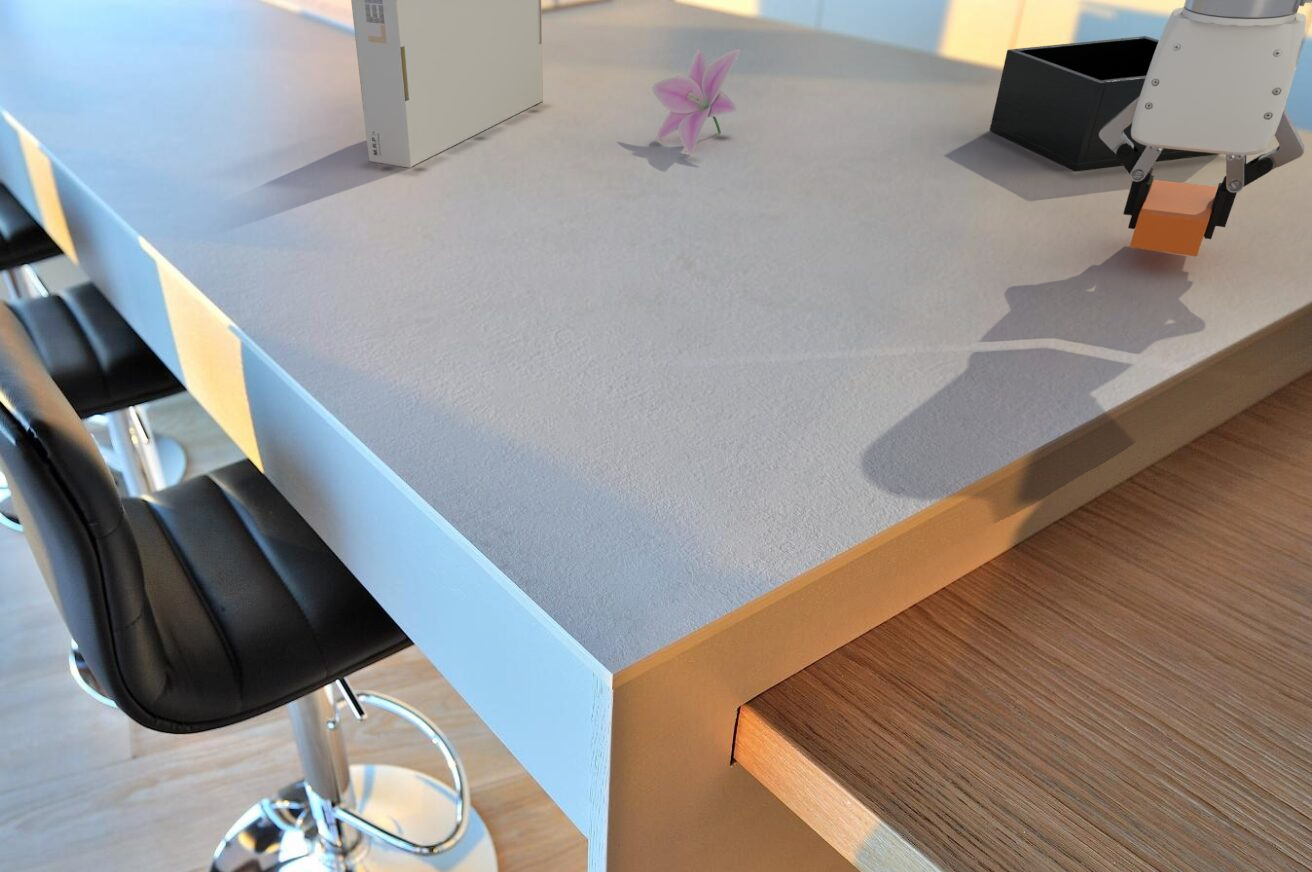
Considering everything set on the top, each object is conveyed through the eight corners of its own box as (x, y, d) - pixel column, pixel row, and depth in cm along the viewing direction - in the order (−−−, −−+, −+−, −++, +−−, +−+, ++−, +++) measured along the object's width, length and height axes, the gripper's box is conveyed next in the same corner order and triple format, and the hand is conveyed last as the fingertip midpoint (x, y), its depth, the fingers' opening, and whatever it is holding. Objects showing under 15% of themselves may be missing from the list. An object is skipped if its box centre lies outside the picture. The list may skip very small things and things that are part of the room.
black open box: (1122, 115, 128) (1145, 35, 123) (1220, 153, 116) (1250, 66, 111) (989, 130, 125) (1007, 49, 120) (1075, 171, 113) (1099, 82, 108)
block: (1143, 212, 97) (1153, 179, 95) (1207, 220, 95) (1218, 186, 93) (1129, 247, 91) (1139, 212, 89) (1196, 256, 89) (1208, 221, 87)
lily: (650, 132, 133) (627, 68, 125) (741, 88, 131) (723, 20, 123) (678, 192, 126) (655, 128, 118) (774, 147, 124) (757, 78, 116)
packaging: (504, 96, 145) (498, -73, 133) (543, 101, 142) (541, -71, 131) (367, 160, 124) (346, -33, 113) (411, 168, 122) (393, -30, 110)
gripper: (1379, -9, 80) (1289, 228, 91) (1126, -19, 88) (1071, 201, 99) (1380, 11, 75) (1285, 259, 86) (1112, -1, 83) (1055, 229, 94)
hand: (1171, 226), depth 92 cm, fingers closed on block, 5 cm apart
